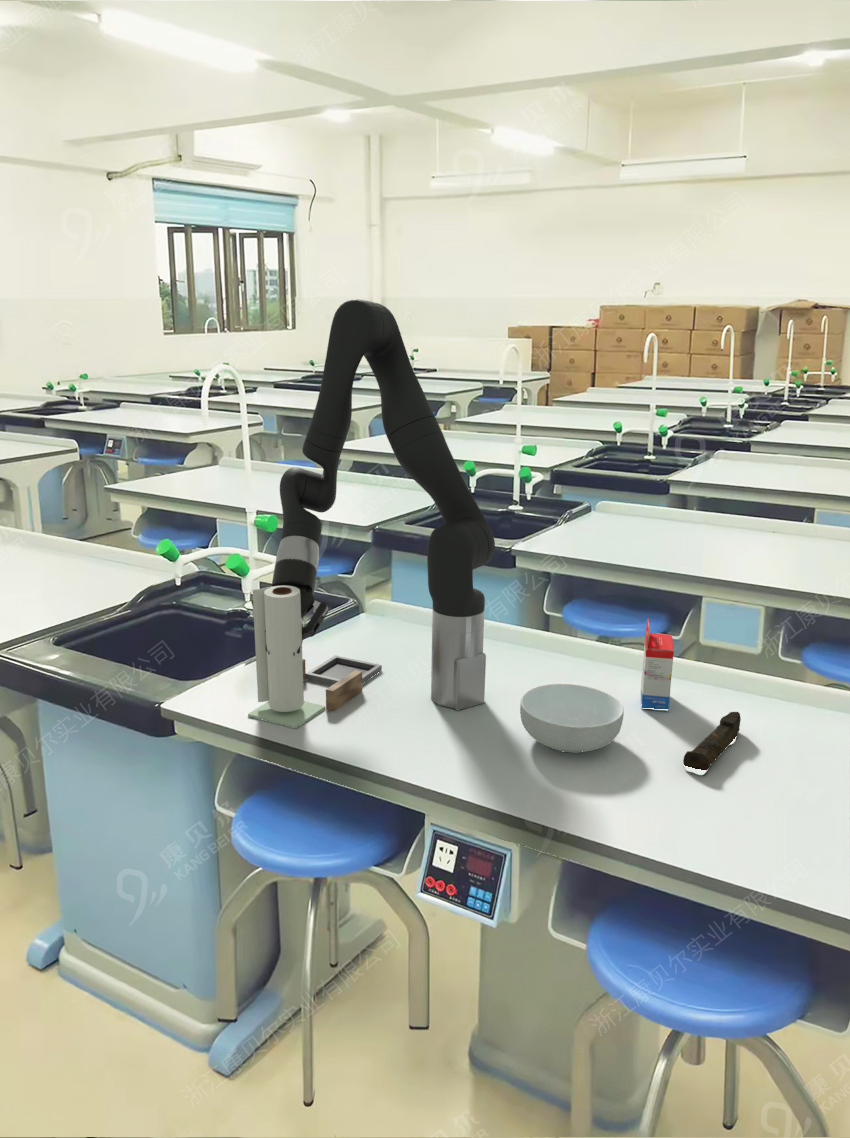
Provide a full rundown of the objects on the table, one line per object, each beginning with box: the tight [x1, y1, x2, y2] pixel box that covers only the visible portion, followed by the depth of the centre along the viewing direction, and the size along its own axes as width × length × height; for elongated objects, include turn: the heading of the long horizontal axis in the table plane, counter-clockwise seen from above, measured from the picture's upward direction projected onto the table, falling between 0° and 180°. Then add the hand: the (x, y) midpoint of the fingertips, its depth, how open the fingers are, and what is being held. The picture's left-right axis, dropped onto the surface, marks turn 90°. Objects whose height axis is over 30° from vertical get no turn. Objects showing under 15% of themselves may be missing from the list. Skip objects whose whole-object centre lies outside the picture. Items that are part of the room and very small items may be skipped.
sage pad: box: [247, 700, 326, 729], centre depth 162 cm, size 9×10×1 cm
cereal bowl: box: [519, 683, 625, 753], centre depth 152 cm, size 17×17×7 cm
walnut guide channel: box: [302, 658, 363, 713], centre depth 169 cm, size 10×14×4 cm
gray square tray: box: [305, 655, 383, 686], centre depth 178 cm, size 11×11×1 cm
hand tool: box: [683, 711, 742, 770], centre depth 149 cm, size 19×4×5 cm, turn 140°
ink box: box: [640, 618, 675, 710], centre depth 166 cm, size 8×5×15 cm, turn 168°
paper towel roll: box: [252, 585, 305, 712], centre depth 158 cm, size 7×6×21 cm
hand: (282, 656), depth 157 cm, fingers closed on paper towel roll, 3 cm apart
